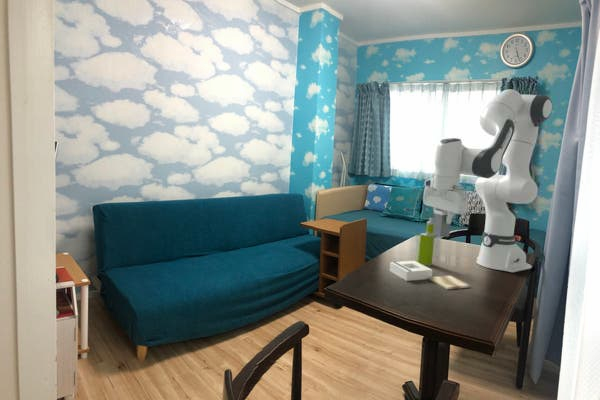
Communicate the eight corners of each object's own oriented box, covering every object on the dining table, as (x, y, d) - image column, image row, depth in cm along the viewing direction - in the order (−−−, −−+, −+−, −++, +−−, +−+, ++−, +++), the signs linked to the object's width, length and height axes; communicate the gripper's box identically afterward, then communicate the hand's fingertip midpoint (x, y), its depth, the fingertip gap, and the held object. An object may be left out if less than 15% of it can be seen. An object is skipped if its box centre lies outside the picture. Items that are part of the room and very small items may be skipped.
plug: (442, 233, 142) (444, 210, 141) (449, 236, 138) (452, 212, 137) (432, 234, 141) (434, 210, 139) (439, 236, 137) (442, 212, 135)
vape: (429, 266, 158) (434, 219, 155) (416, 262, 162) (420, 216, 159) (433, 264, 161) (438, 218, 158) (419, 260, 165) (424, 215, 162)
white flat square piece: (413, 269, 154) (414, 259, 153) (431, 278, 143) (432, 269, 143) (389, 270, 150) (390, 261, 149) (406, 280, 140) (407, 270, 139)
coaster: (450, 277, 146) (450, 275, 145) (469, 287, 136) (469, 285, 136) (428, 279, 142) (428, 277, 142) (446, 289, 133) (447, 287, 133)
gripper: (474, 187, 128) (470, 227, 130) (435, 180, 147) (432, 215, 149) (459, 187, 126) (455, 228, 128) (421, 180, 145) (418, 216, 147)
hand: (442, 221), depth 139 cm, fingers closed on plug, 4 cm apart
